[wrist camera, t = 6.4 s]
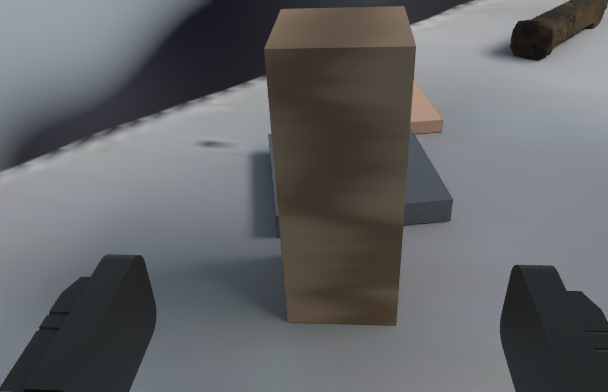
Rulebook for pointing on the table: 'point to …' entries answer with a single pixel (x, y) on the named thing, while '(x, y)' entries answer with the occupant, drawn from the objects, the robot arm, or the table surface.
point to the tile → (424, 113)
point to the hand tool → (555, 27)
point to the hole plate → (409, 188)
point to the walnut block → (341, 158)
